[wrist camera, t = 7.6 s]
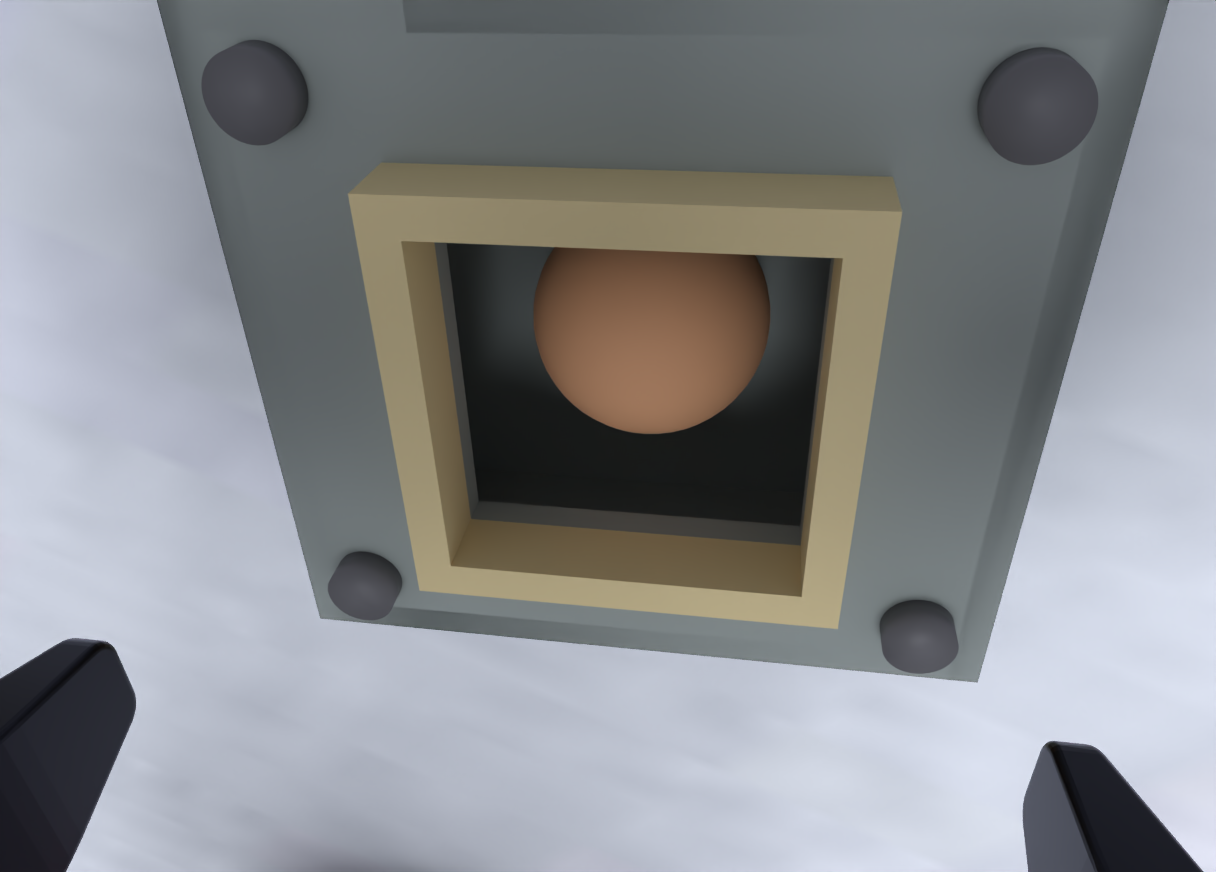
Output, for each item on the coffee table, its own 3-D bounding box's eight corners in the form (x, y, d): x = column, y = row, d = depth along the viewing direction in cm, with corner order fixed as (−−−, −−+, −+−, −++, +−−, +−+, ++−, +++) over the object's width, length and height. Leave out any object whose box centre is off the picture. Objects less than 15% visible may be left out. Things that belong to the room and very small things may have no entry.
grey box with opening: (405, 465, 22) (294, 665, 17) (313, -64, 16) (98, 6, 11) (940, 504, 21) (989, 739, 16) (1064, -69, 15) (1211, 11, 9)
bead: (562, 356, 19) (520, 473, 16) (550, 159, 17) (499, 248, 14) (762, 365, 19) (762, 488, 16) (777, 163, 17) (781, 258, 13)
